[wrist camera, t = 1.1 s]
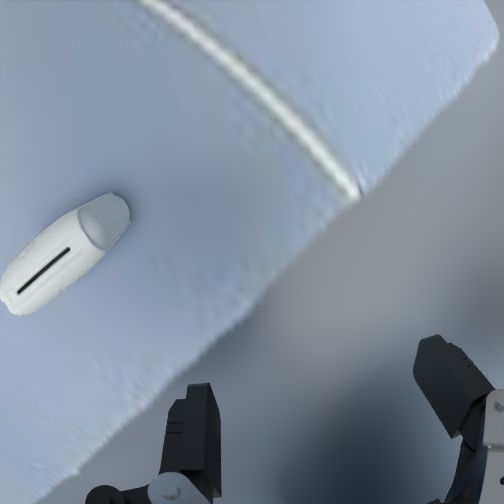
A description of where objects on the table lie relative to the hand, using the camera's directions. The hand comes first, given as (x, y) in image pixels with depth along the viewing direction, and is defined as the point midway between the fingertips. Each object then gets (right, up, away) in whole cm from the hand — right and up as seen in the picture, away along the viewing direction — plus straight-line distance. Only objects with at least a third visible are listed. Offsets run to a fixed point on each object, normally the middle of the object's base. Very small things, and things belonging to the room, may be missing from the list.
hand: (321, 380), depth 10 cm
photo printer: (-19, +7, +17) cm, 26 cm away
